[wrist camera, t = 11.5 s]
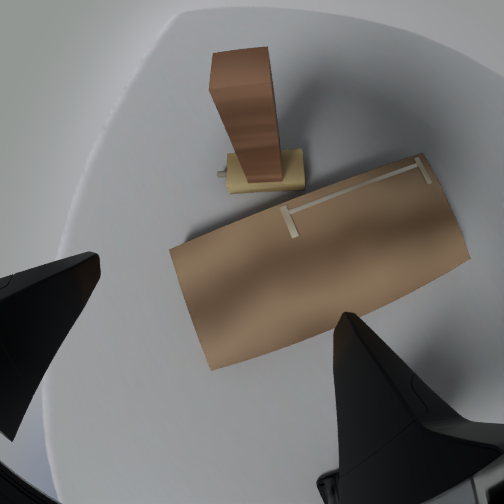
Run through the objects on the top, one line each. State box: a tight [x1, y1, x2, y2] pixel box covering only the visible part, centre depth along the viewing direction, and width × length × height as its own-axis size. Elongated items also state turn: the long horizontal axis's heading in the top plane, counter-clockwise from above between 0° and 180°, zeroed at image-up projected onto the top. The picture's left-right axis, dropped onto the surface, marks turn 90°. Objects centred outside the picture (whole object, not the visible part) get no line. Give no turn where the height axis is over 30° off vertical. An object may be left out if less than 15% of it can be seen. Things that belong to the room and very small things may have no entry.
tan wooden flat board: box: [169, 153, 471, 371], centre depth 20 cm, size 10×22×2 cm, turn 110°
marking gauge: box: [209, 47, 305, 194], centre depth 16 cm, size 3×7×12 cm, turn 91°
